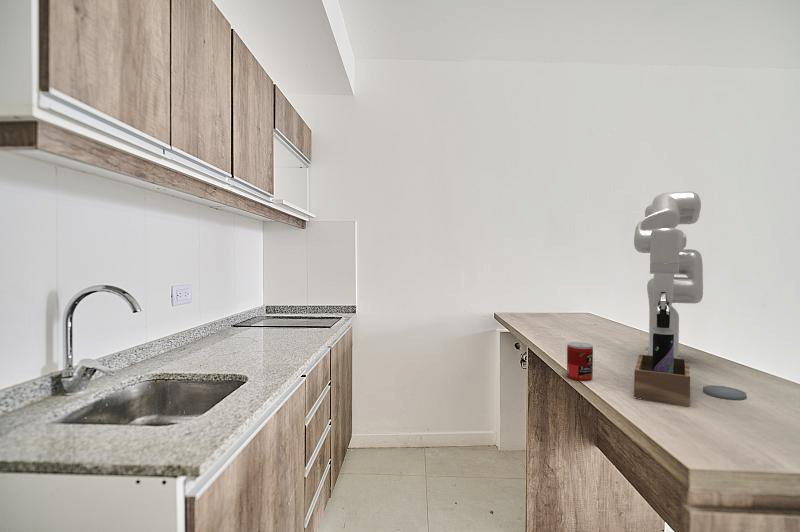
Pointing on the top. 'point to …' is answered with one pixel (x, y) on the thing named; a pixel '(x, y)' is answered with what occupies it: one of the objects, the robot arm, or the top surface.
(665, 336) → the spray can
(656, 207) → the robot arm
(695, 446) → the top surface
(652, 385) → the wooden box
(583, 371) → the canned food
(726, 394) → the mat
